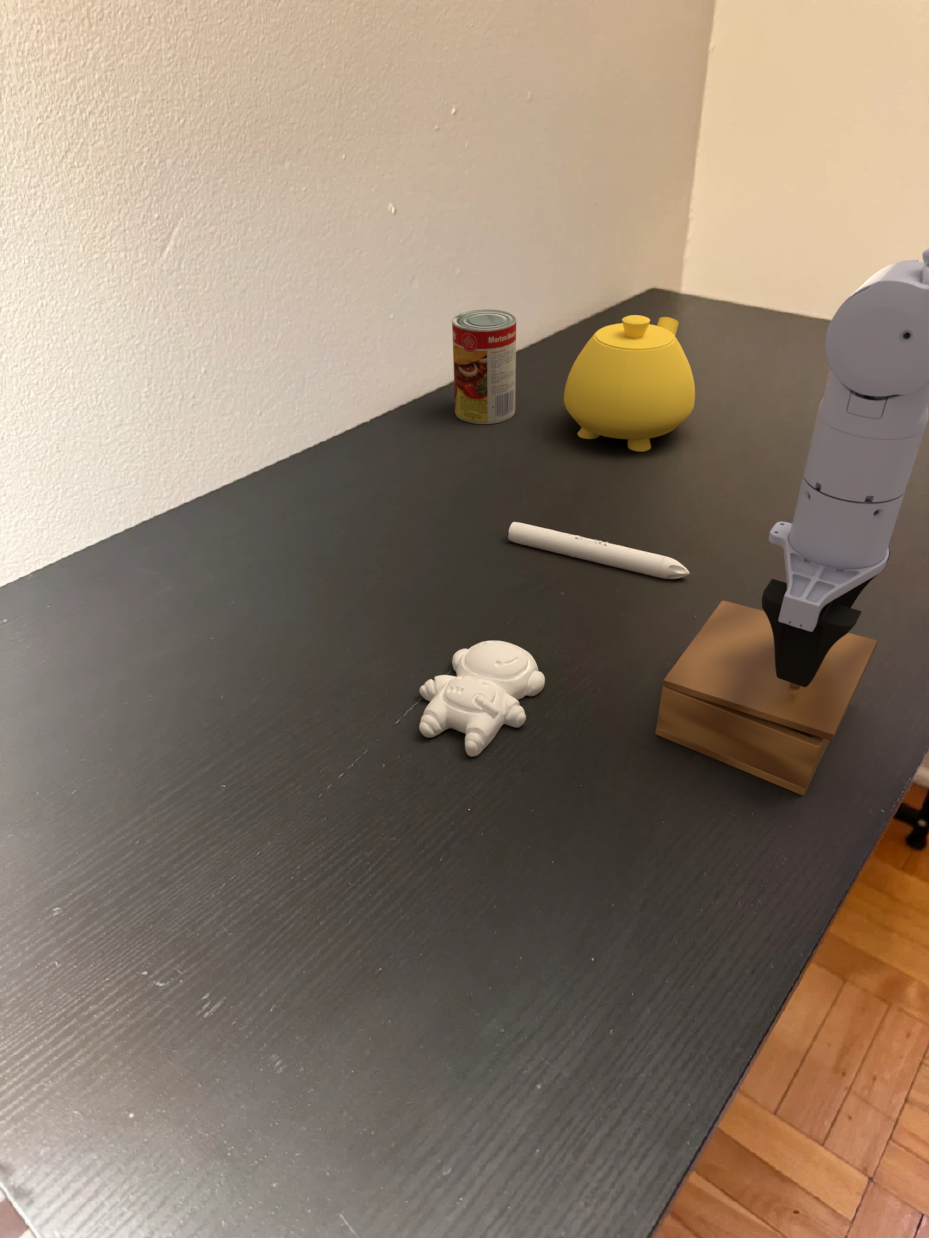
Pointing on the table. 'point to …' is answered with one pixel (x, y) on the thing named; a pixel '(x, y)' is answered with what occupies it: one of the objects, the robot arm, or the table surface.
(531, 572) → the table surface
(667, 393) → the teapot
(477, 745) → the astronaut figurine
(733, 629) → the brown piece
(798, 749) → the keepsake box
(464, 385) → the canned food
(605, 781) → the table surface
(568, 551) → the marker
